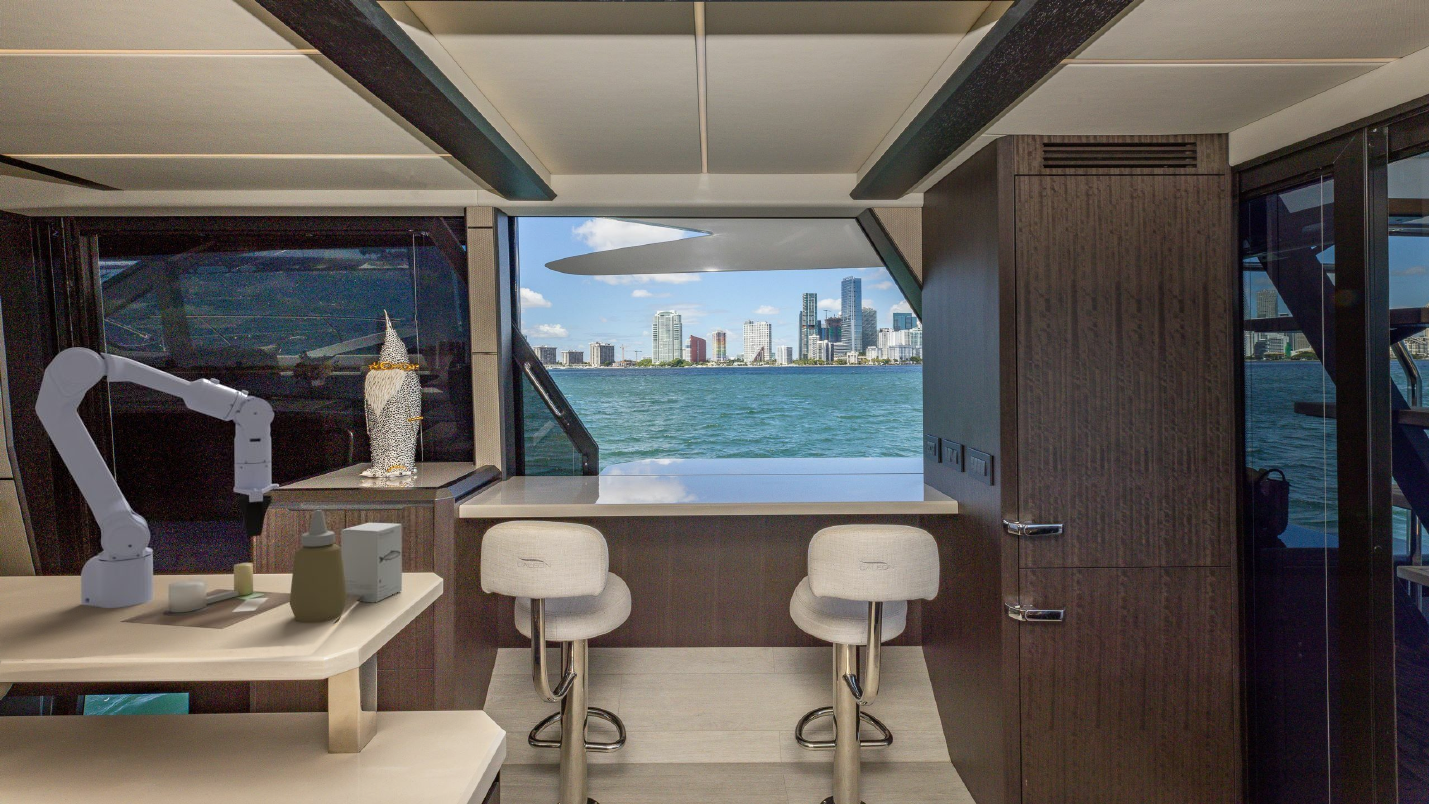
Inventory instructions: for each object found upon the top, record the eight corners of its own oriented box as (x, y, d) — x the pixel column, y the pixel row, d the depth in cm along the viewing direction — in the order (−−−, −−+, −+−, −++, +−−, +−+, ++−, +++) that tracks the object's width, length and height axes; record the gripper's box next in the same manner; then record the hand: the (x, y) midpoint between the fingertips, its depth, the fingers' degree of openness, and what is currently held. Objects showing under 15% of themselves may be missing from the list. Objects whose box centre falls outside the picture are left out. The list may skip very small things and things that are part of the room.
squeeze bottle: (358, 618, 118) (358, 508, 118) (317, 634, 111) (316, 516, 110) (320, 613, 121) (319, 505, 121) (277, 628, 113) (276, 513, 113)
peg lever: (180, 614, 115) (180, 582, 115) (161, 609, 118) (161, 578, 117) (260, 593, 127) (260, 564, 127) (242, 589, 129) (242, 561, 129)
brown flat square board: (120, 629, 113) (120, 620, 113) (218, 595, 131) (218, 588, 130) (222, 636, 110) (222, 627, 110) (308, 601, 128) (308, 593, 128)
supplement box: (377, 603, 127) (376, 531, 126) (339, 600, 128) (339, 529, 128) (403, 591, 134) (403, 523, 133) (367, 589, 135) (367, 521, 135)
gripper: (282, 464, 131) (282, 539, 131) (274, 457, 142) (275, 526, 143) (235, 467, 127) (236, 544, 127) (231, 459, 138) (232, 530, 139)
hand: (253, 535), depth 135 cm, fingers closed
